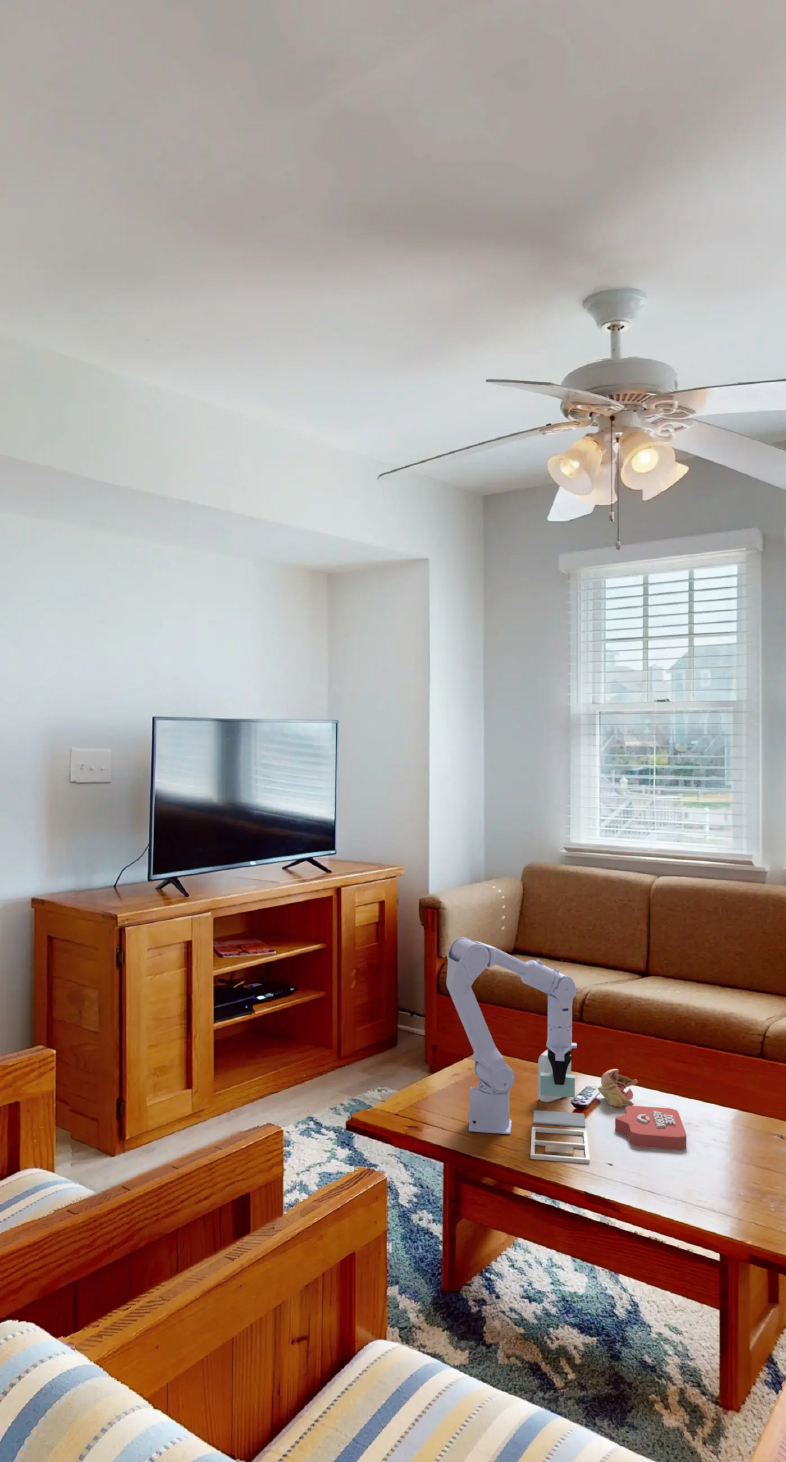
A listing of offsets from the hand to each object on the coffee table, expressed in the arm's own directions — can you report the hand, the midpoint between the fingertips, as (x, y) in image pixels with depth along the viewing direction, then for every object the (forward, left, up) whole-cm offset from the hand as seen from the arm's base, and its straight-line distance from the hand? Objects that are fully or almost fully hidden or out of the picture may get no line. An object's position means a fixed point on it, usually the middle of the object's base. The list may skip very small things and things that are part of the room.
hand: (559, 1082), depth 228 cm
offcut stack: (0, -20, -9) cm, 22 cm away
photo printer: (-1, +15, -9) cm, 17 cm away
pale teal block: (0, 0, -3) cm, 3 cm away
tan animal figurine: (+14, +14, -9) cm, 22 cm away
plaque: (+20, -4, -9) cm, 23 cm away
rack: (0, -16, -9) cm, 18 cm away
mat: (0, 0, -9) cm, 9 cm away
